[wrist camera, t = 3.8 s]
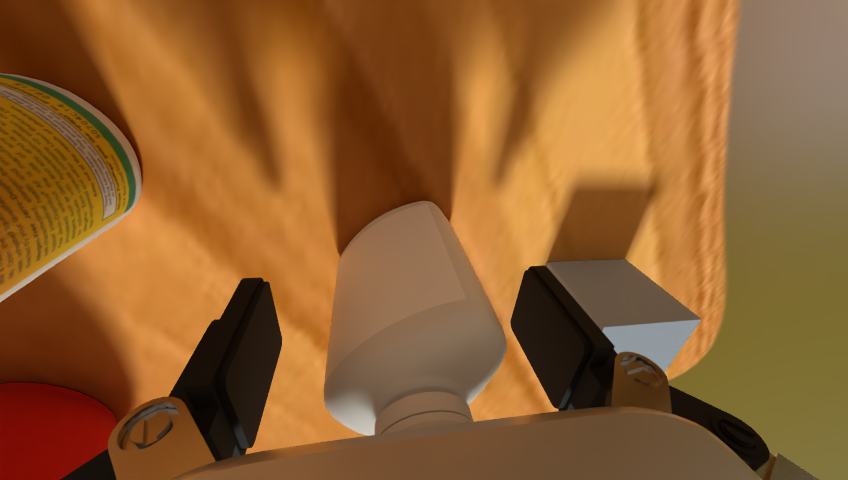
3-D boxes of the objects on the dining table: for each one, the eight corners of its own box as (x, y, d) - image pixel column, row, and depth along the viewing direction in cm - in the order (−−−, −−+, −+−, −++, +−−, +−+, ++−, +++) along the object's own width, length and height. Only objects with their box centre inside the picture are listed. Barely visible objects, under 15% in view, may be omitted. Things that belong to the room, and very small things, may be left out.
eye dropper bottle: (325, 210, 14) (216, 652, 4) (449, 193, 14) (656, 535, 4) (345, 287, 16) (313, 689, 6) (452, 270, 17) (590, 610, 6)
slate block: (546, 261, 18) (604, 327, 13) (623, 258, 18) (701, 319, 14) (525, 325, 20) (568, 398, 16) (594, 320, 21) (653, 388, 17)
